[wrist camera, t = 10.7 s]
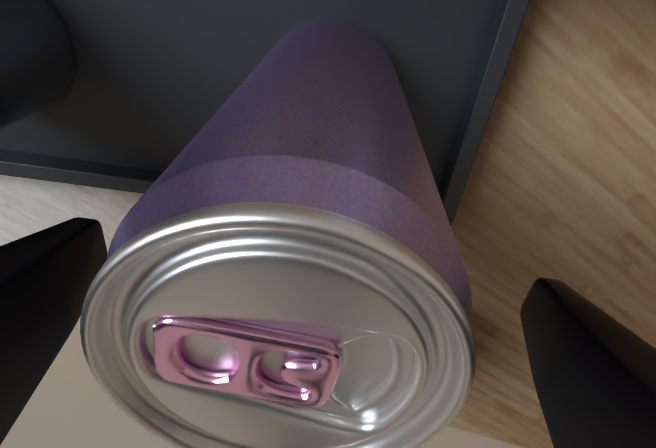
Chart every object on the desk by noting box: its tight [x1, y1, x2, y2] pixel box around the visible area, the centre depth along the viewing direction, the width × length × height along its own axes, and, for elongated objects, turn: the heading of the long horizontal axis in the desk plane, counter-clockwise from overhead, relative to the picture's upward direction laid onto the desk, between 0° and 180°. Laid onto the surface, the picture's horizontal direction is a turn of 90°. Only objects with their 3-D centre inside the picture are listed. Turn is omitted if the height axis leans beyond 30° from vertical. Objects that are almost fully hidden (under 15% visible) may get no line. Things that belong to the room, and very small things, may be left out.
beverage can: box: [80, 20, 475, 448], centre depth 12 cm, size 6×6×15 cm
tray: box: [0, 0, 530, 226], centre depth 18 cm, size 13×28×2 cm, turn 83°
